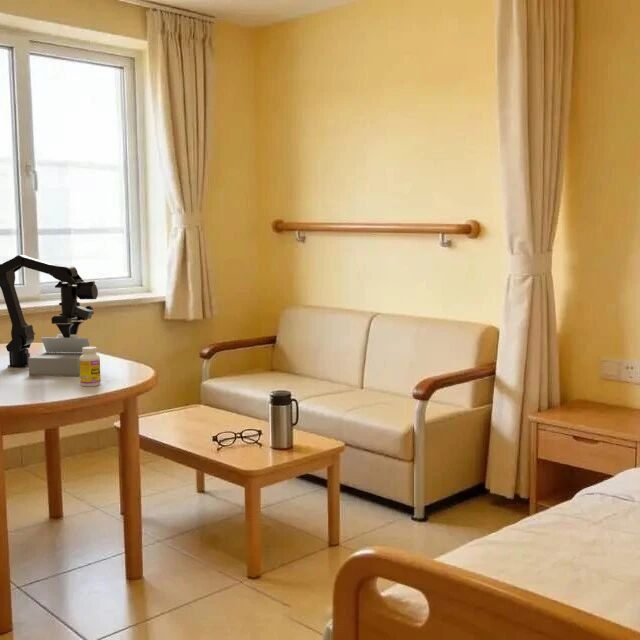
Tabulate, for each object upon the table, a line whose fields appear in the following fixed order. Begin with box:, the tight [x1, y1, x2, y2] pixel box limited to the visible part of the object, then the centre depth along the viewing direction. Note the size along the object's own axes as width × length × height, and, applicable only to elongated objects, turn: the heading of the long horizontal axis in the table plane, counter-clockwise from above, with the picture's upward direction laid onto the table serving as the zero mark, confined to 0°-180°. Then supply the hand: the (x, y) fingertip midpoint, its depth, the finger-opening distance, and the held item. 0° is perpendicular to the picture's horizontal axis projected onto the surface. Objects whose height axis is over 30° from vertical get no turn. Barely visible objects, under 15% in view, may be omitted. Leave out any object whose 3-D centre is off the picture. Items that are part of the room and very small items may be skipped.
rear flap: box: [41, 333, 91, 353], centre depth 291 cm, size 18×7×4 cm
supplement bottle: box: [79, 346, 101, 388], centre depth 263 cm, size 7×7×13 cm
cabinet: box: [28, 351, 83, 377], centre depth 285 cm, size 18×14×6 cm
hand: (70, 341), depth 293 cm, fingers open, 5 cm apart
